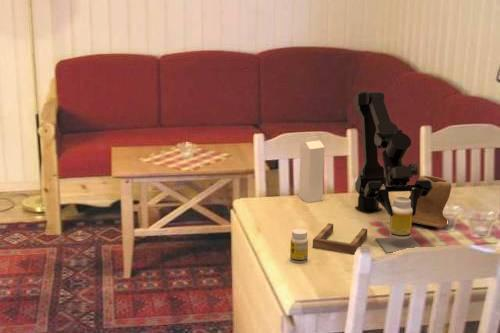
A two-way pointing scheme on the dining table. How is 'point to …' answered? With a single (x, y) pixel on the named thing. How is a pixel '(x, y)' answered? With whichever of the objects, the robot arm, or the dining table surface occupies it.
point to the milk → (311, 170)
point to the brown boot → (433, 203)
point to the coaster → (396, 244)
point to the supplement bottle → (299, 246)
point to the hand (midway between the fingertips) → (402, 215)
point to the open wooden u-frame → (337, 246)
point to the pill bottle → (401, 219)
